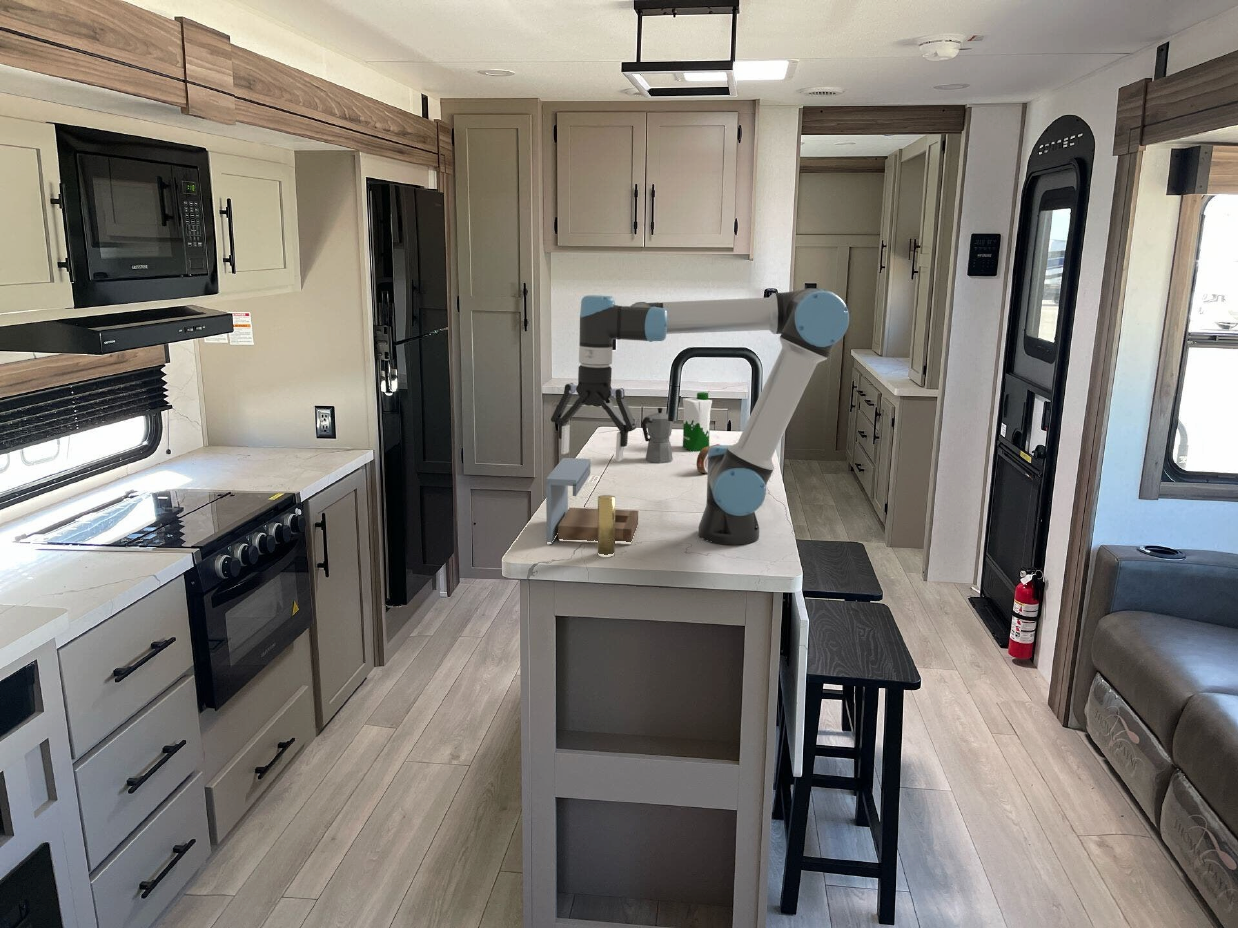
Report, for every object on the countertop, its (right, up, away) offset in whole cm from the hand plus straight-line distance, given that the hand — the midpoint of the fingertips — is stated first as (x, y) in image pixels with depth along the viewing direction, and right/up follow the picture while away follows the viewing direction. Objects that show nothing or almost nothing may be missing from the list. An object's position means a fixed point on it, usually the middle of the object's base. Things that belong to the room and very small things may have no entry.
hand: (591, 456), depth 211 cm
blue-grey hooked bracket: (-6, -19, +20) cm, 28 cm away
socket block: (+1, -19, +19) cm, 27 cm away
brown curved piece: (+36, -4, +83) cm, 91 cm away
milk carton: (+34, +4, +115) cm, 120 cm away
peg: (+3, -23, +3) cm, 23 cm away
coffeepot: (+19, -1, +97) cm, 99 cm away
